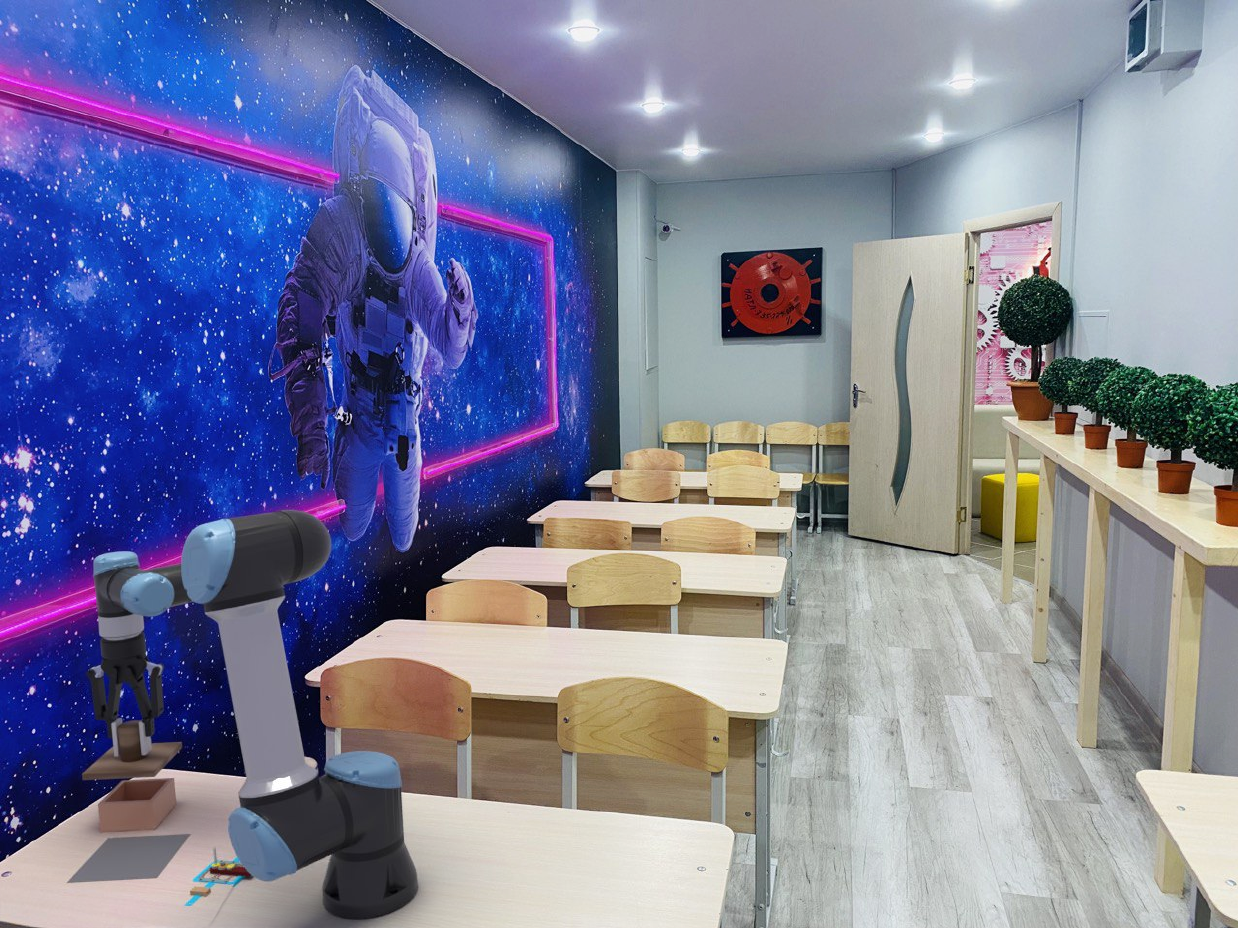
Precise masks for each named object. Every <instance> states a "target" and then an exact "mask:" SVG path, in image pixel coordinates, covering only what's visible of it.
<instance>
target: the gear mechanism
mask: <svg viewBox="0 0 1238 928" xmlns="http://www.w3.org/2000/svg"><path fill="white" fill-rule="evenodd" d="M212 849H213V850H212V851H213V860H214V861H211V863H210V864H208V865H206V867H205V868H204V869H203V870H201V872H199V874H197V875H196V876H195V877H194V878H193V879H192V882H195V883H206V885H204V886H194V887H193V888H192V889H190V890H189V895H190V896H192V897H191V898H190V899H189V900H188V901H186V903H184V906H185V907H186V906H189V907H191V906H192V905H193V904H194V903H196V902H197V901H198V900H199V899H200V898H201V897H205V898H206V897H208V895H209V894H211V892H212V891H211V888H212V887H213V886H214V885H215V884H218V885H231V886H232V888H234V887H236V886H237V885H238V884H239V883H240V882H241V881H242V880H243V879H244V878H245V877H251V876H252V875H251V874H250V873H249V872H248V871H247V870H246V869H245V867H244V866H243V865H242V863H241V862H240V860H239V859H238V857H237V856H236V857H235V858H234V859H233V860H223V859H222V860H217V849H216V847H215V846H214V847H212ZM208 873H211V874H214V876H211V877H208V878H207V877H205V876H206V875H207V874H208ZM222 875H227V876H229V877H228V878H224V879H220V877H221V876H222ZM234 876H237V877H236V878H235V879H234V880H232V881H230V880H231V879H232V878H233V877H234Z"/></svg>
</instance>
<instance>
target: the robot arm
mask: <svg viewBox="0 0 1238 928" xmlns="http://www.w3.org/2000/svg"><path fill="white" fill-rule="evenodd" d="M186 537H187V538H186V540H185V542H184V544H183V548H182V552H181V560H180V563H177V564H171V565H165V566H161V567H160V566H159V567H154V568H149V569H142V568H141V569H140V567H141V566H140V565H141V564H140V562H139V557H138V555H137V553H135V552H133V551H114V552H105V553H103V554H99V555H98V556H96V557H95V558H94V559H93V574H92V577H93V579H94V580H93V581H94V588H95V589H94V590H95V599H96V601H95V602H96V608H97V617H98V619H97V621H98V633H99V634H98V635H99V636H100V637H101V639H99V641H100V642H99V644H100V653H101V654H100V655H101V657H102V660H101V663H100V665H94V666H93V667H91V668H90V669H88V670H87V671H86V676H87V678H88V680H89V681H90V686H91V694H92V703H93V710H94V711H93V712H94V719H95V720H96V721H103V722H105V723H106V730H107V737H108V739H112V745H113V746H112V747H114V757H115V756H119V755H120V746H119V736H118V726H119V725H120V724H122V723H123V718H122V717H119V716H120V714H119V708H120V700H121V694H122V686H123V684H128V685H129V687H130V688H131V689H132V691H133V694H134V697H135V700H136V703H137V706H138V710H139V713H140V717H141V718H142V719H141V720H140V722H139V732H140V743H141V754H142V755H146V754H147V753H148V752H149V751H150V750H151V749H152V747H151V743H152V738H151V737H152V736H153V735H154V734H155V732H156V730H155V729H156V728H155V718H158V717H159V716H160V715H161V714H163V712H164V710H165V709H164V695H163V682H162V681H163V680H162V679H163V678H162V674H163V672H164V668H165V665H164V663H158V664H156V663H153V662H150V659H149V658H148V655H147V646H146V645H147V644H146V634H145V633H144V632H143V631H144V630H145V622H144V617H156V616H159V615H161V614H163V613H164V612H166V611H167V610H169V608H173V607H176V606H181V605H186V604H189V603H193V602H194V603H196V604H200V605H203V609H204V614H205V615H206V616H208V617H209V618H210V619H212V620H213V621H215V622H216V623H217V625H218V629H219V631H218V632H219V637H220V642H221V647H222V652H223V657H224V663H225V667H226V675H227V680H228V685H229V690H230V694H231V695H230V697H231V701H232V706H233V712H234V717H235V718H234V719H235V723H236V728H237V734H238V739H239V744H240V749H241V755H242V759H243V760H242V761H243V765H244V773H245V776H246V779H245V781H244V783H243V784H242V786H241V788H239V790H238V792H237V793H238V799H239V800H238V801H239V806H240V807H237V808H235V809H234V811H232V812H231V813H230V814H229V817H228V824H227V830H228V835H229V839H230V843H231V846H232V849H233V851H234V852H235V855H236V857H238V859H239V860H240V861H239V862H241V863H242V865H243V866H244V867H245V869H246V870H247V871H248V872H249V873H250V874H251V876H252V877H253V878H255V879H257V880H259V881H261V882H272V881H277V880H278V879H280V878H284V877H286V876H288V875H289V876H290V875H291V876H292V875H293V874H295V873H297V871H299V870H301V869H302V870H303V869H304V868H306V867H308V866H310V865H313V864H314V863H316V862H319V861H320V860H323V859H325V858H327V857H329V861H328V865H327V868H326V871H325V875H324V879H323V884H322V890H321V891H322V903H323V906H324V908H325V909H326V911H328V912H329V913H330V914H332V915H334V916H336V917H340V918H345V919H350V920H351V919H353V920H356V919H357V920H359V919H361V920H363V919H369V918H375V917H379V916H384V915H386V914H389V913H392V912H394V911H396V910H398V909H400V908H402V907H403V906H405V905H406V904H408V903H409V902H410V901H411V899H413V897H414V896H415V895H416V893H417V891H418V887H419V884H418V883H419V882H418V873H417V868H416V866H415V864H414V862H413V859H412V857H411V854H410V852H409V849H408V847H407V845H406V842H405V835H404V834H405V832H404V831H405V830H404V813H403V797H402V796H403V795H402V786H403V782H402V778H401V772H400V771H401V770H400V765H399V763H398V762H397V760H396V759H395V758H394V757H392V756H390V755H388V754H385V753H383V752H378V751H368V750H358V751H357V750H356V751H348V752H343V753H339V754H335V755H333V756H331V757H330V758H329V759H328V760H327V761H326V762H325V765H324V768H323V771H324V774H323V775H322V776H319V770H318V771H317V770H316V769H314V768H313V767H311V766H309V765H308V764H307V763H306V762H305V758H304V757H305V753H304V747H303V743H302V742H303V741H302V738H301V732H300V726H299V721H298V715H297V710H296V704H295V700H294V695H293V694H294V693H293V688H292V683H291V678H290V672H289V668H288V662H287V661H288V660H287V657H286V652H285V645H284V641H283V635H282V629H281V624H280V618H279V614H278V613H279V611H278V609H279V608H280V606H281V604H282V603H283V601H284V600H285V598H286V595H285V589H284V585H288V584H291V583H296V582H299V581H302V580H306V579H307V578H310V577H311V576H314V575H315V574H317V572H319V571H320V570H322V569H323V567H324V566H325V565H326V563H327V561H328V560H329V558H330V555H331V551H332V538H331V535H330V533H329V530H328V528H327V526H326V525H325V523H324V522H322V520H320V519H319V518H318V517H317V516H315V515H313V514H311V513H309V512H306V511H302V510H298V509H297V510H296V509H281V510H277V511H273V512H265V513H259V514H253V515H252V514H251V515H245V516H237V517H230V518H221V519H219V520H215V521H210V522H207V523H203V524H200V525H198V526H197V527H196V526H195V528H194V529H192V530H191V532H190V533H189V534H188V535H187V536H186ZM146 671H148V676H149V690H150V696H149V693H148V689H147V686H146V683H145V682H146V680H145V676H144V673H145V672H146ZM104 674H105V675H106V676H107V677H108V678H109V683H108V689H109V691H108V698H106V697H107V695H106V688H105V679H104Z"/></svg>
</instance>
